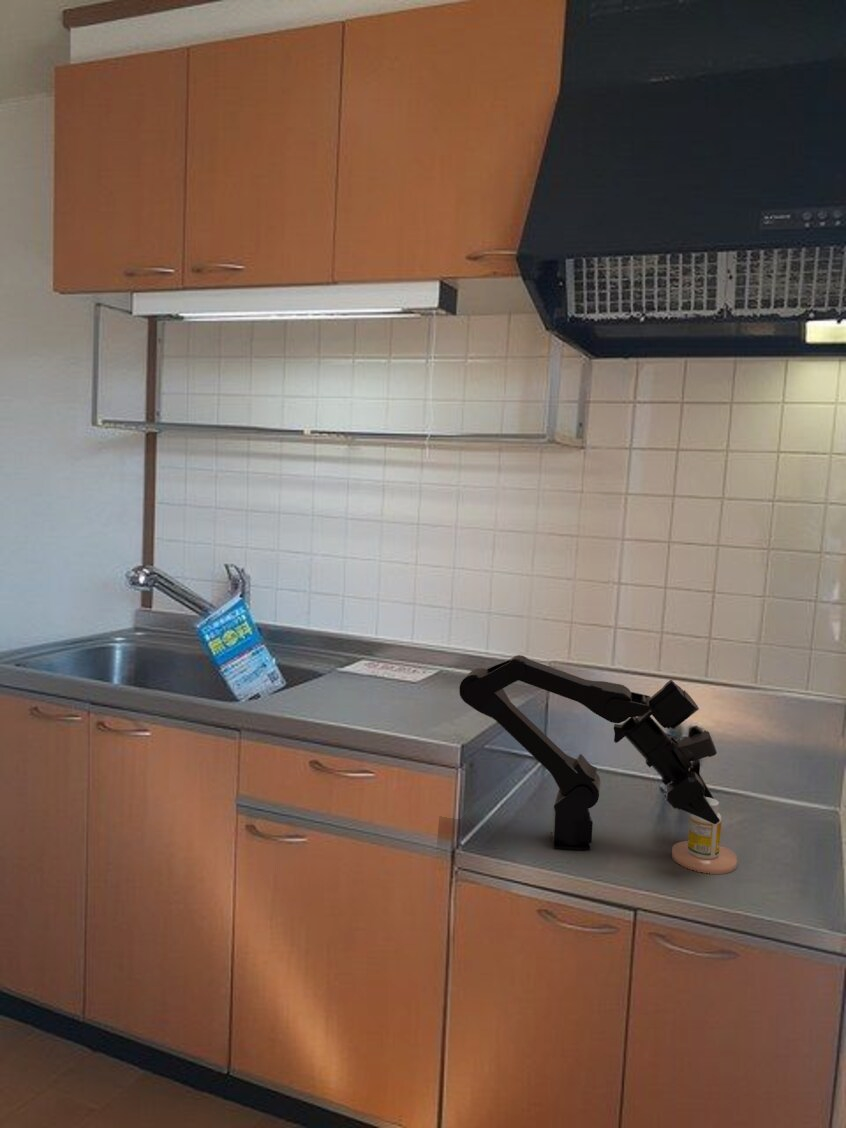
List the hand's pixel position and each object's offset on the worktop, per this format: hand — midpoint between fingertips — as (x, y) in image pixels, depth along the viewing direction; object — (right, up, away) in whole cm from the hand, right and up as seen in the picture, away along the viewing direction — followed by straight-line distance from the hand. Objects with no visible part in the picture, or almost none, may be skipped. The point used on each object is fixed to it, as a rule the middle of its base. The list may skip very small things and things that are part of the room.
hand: (715, 812), depth 154 cm
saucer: (-2, -9, +1) cm, 9 cm away
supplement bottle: (-2, -8, +1) cm, 8 cm away
